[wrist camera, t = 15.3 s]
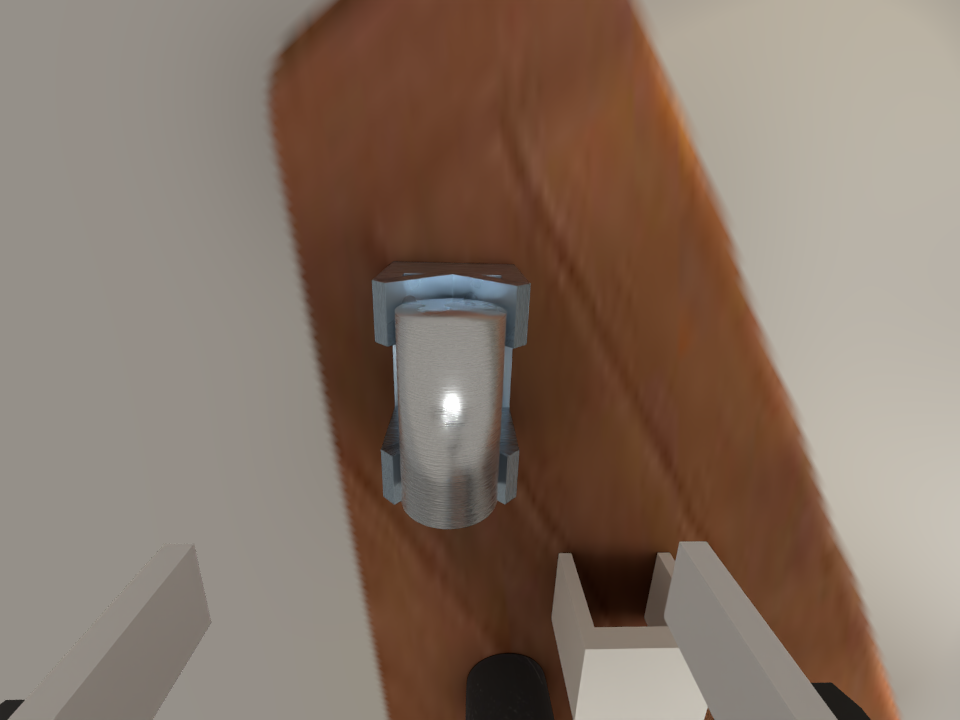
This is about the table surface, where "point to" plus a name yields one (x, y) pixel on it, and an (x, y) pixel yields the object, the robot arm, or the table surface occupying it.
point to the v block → (458, 283)
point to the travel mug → (507, 690)
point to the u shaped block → (622, 656)
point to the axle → (449, 408)
